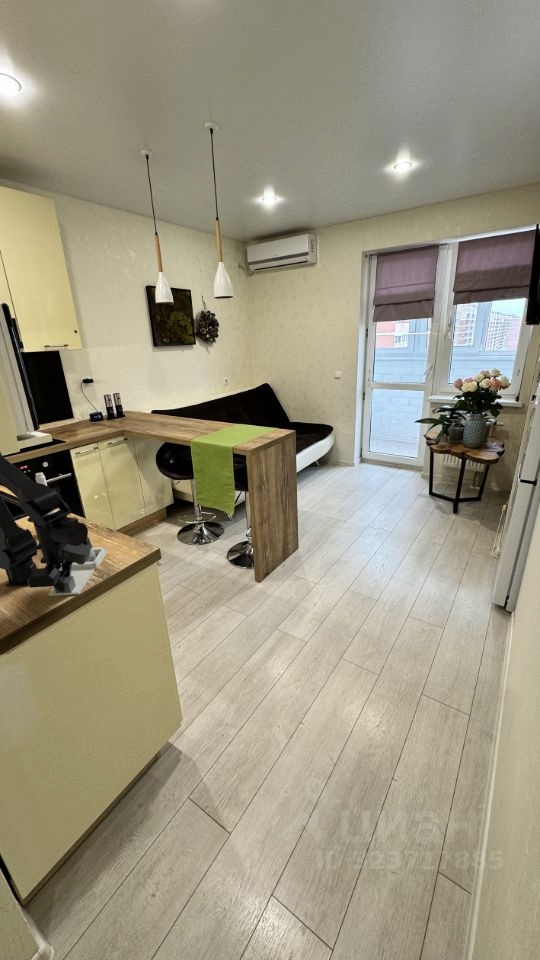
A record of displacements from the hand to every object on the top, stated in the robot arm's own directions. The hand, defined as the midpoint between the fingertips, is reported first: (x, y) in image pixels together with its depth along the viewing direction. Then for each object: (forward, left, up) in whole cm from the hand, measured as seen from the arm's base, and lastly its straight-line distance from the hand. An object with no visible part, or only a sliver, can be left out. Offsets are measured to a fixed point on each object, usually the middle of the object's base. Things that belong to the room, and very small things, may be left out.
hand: (65, 587), depth 102 cm
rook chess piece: (0, +16, -2) cm, 16 cm away
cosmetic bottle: (-20, +36, -2) cm, 41 cm away
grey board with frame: (0, +8, -2) cm, 9 cm away
